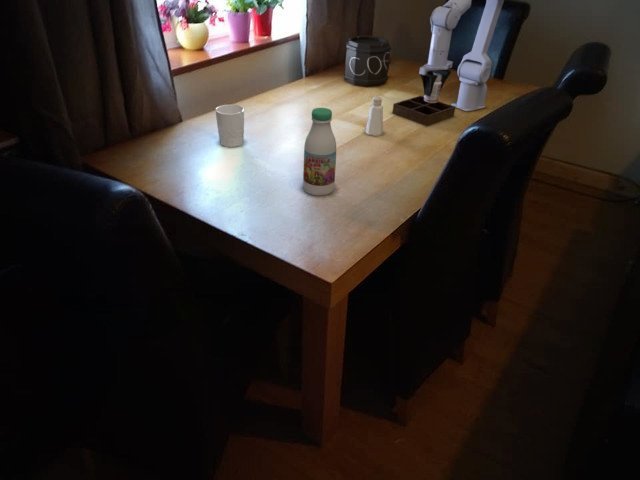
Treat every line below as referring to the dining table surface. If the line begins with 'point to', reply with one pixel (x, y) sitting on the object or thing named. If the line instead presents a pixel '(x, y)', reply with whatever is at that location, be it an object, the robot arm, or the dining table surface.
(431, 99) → the pill bottle
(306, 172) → the milk bottle
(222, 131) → the white cup
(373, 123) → the pepper shaker
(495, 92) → the dining table surface
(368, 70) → the coffee canister
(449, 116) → the tray
